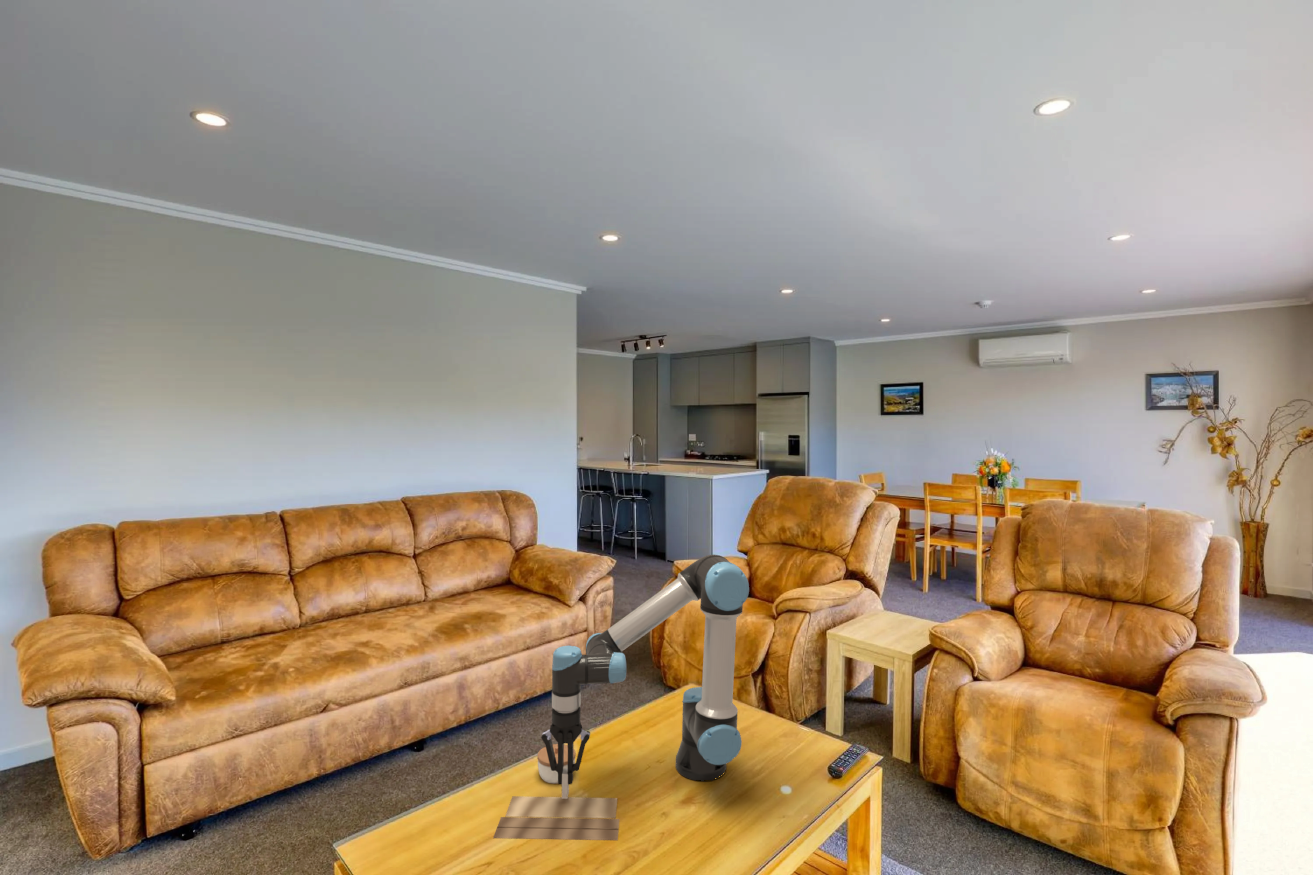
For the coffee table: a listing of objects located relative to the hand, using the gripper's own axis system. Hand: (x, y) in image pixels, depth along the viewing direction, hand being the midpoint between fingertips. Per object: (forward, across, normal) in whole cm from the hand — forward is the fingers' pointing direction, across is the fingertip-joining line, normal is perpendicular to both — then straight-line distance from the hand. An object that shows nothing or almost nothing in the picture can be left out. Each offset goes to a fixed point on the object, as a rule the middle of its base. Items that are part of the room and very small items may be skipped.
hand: (565, 795), depth 162 cm
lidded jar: (+3, +4, -12) cm, 14 cm away
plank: (+3, 0, +3) cm, 4 cm away
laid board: (+3, 0, +11) cm, 11 cm away
